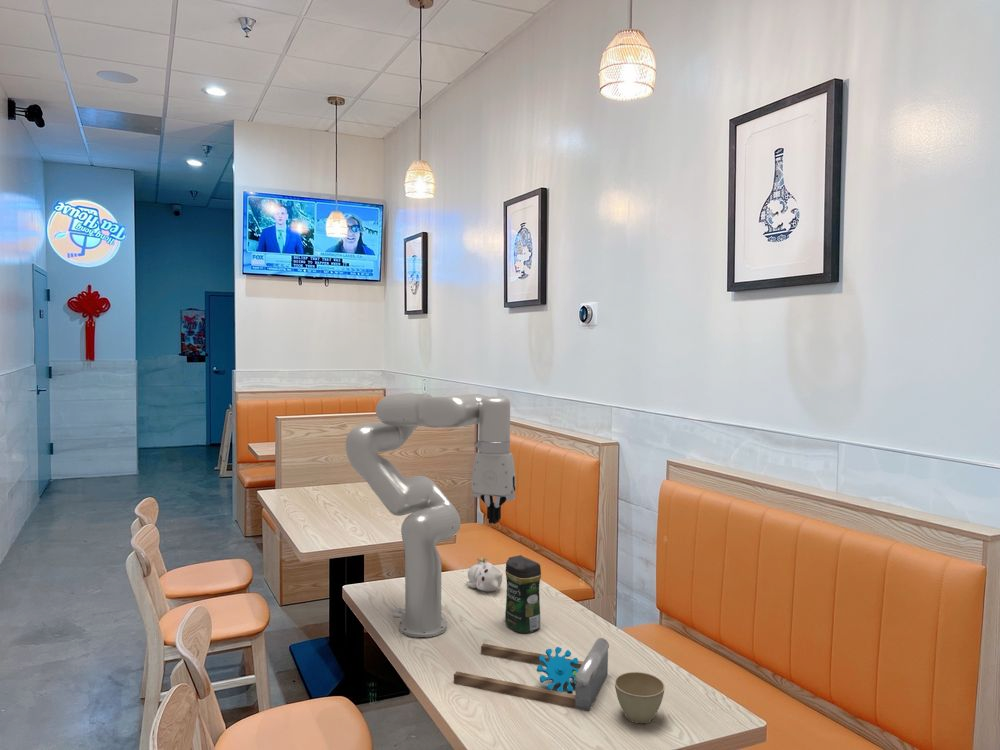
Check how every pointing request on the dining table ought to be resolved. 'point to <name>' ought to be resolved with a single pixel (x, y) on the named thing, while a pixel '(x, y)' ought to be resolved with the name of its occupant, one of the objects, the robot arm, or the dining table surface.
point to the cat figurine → (484, 576)
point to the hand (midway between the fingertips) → (493, 522)
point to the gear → (558, 669)
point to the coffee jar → (522, 594)
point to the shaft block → (591, 675)
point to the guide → (516, 688)
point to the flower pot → (639, 695)
